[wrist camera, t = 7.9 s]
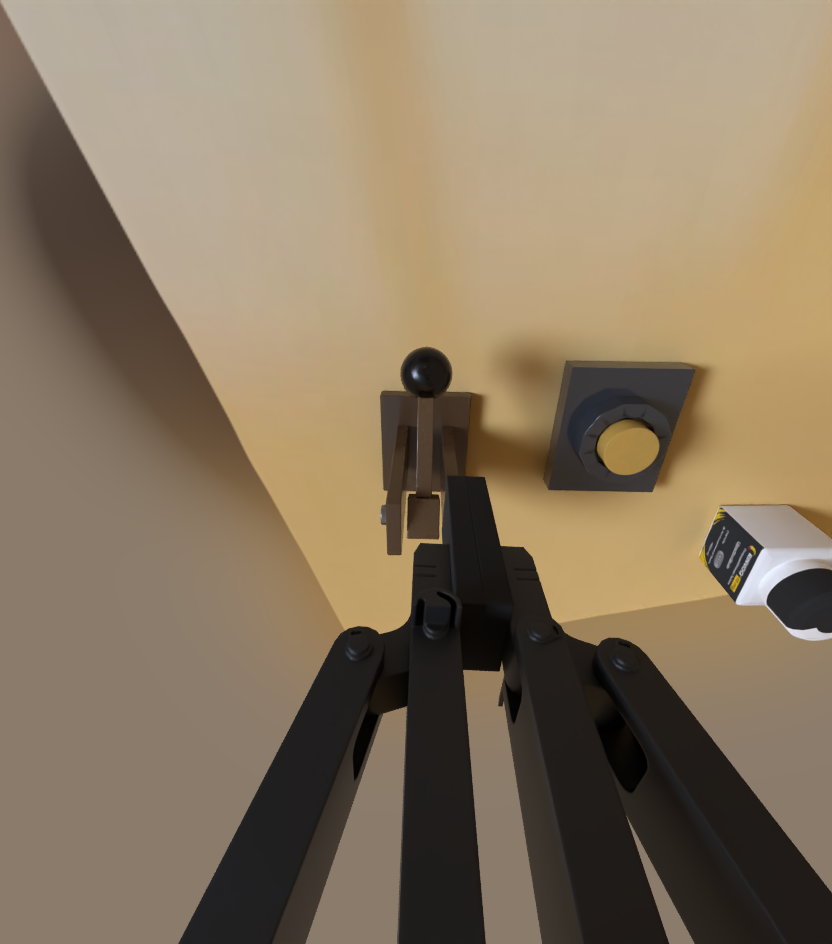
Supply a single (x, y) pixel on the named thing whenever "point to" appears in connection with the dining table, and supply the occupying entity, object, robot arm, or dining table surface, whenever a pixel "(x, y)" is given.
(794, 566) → the medicine bottle
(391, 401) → the lever bracket
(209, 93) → the dining table surface
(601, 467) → the button base
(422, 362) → the flush lever
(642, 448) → the tan short cylinder
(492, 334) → the dining table surface
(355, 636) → the robot arm
